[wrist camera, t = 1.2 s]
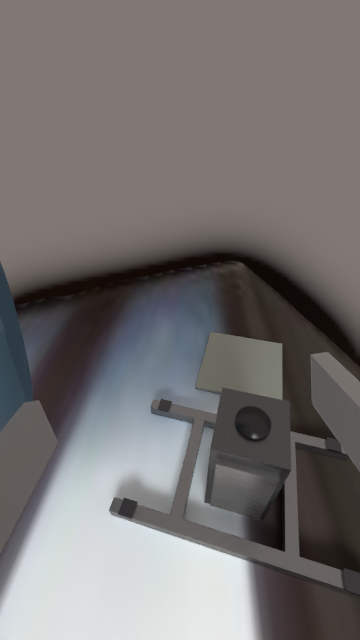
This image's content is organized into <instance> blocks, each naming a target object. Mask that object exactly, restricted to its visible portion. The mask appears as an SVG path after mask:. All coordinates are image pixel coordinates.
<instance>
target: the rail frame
mask: <svg viewBox="0 0 360 640" xmlns="http://www.w3.org/2000/svg"><path fill="white" fill-rule="evenodd" d="M150 408H151V413H152V414H156V415H160V416H164V417H168V418H173V419H177V420H181V421H185V422H189V423H193V428H192V432H191V436H190V440H189V444H188V448H187V451H186V455H185V459H184V463H183V467H182V471H181V475H180V479H179V483H178V487H177V491H176V494H175V498H174V502H173V506H172V510H171V514H170V515H168V514H165V513H162V512H159V511H156V510H153V509H150V508H146V507H143V506H140V505H137V502H136V501H133V500H129V499H126V498H124V499H123V500H122V499H118V498H115V497H114V499H113V502H112V504H111V507H110V509H109V511H110V513H111V515H113V516H116V517H119V518H122V519H125V520H128V521H131V522H134V523H137V524H140V525H143V526H146V527H149V528H152V529H155V530H158V531H161V532H164V533H167V534H170V535H173V536H176V537H179V538H182V539H185V540H188V541H190V542H193V543H196V544H199V545H202V546H205V547H208V548H211V549H214V550H217V551H220V552H223V553H226V554H229V555H232V556H235V557H238V558H241V559H244V560H247V561H250V562H253V563H256V564H259V565H262V566H265V567H268V568H271V569H274V570H276V571H279V572H282V573H285V574H288V575H291V576H294V577H297V578H300V579H303V580H306V581H309V582H312V583H315V584H318V585H321V586H324V587H327V588H330V589H333V590H336V591H339V592H342V593H345V594H348V595H351V596H354V597H357V598H360V573H358V572H355V571H352V570H349V569H346V568H342V570H339V569H336V568H333V567H330V566H327V565H324V564H321V563H318V562H314V561H311V560H308V559H305V558H302V557H299V531H298V506H297V481H296V455H295V448H296V449H300V450H304V451H308V452H313V453H317V454H321V455H325V456H329V457H333V458H337V459H341V460H345V461H347V459H348V458H349V456H348V454H347V453H346V451H345V450H344V449H343V447H342V446H341V444H340V443H339V441H338V440H337V439H333V438H329V437H326V439H321V438H317V437H313V436H308V435H304V434H300V433H295V432H291V431H290V436H291V472H290V474H289V475H288V477H287V479H286V481H285V482H284V484H283V486H282V551H280V550H277V549H274V548H271V547H268V546H265V545H262V544H258V543H255V542H252V541H249V540H246V539H243V538H240V537H237V536H234V535H230V534H227V533H224V532H221V531H218V530H215V529H212V528H209V527H206V526H202V525H199V524H196V523H193V522H190V521H187V520H184V519H183V518H184V513H185V509H186V504H187V500H188V495H189V491H190V486H191V482H192V477H193V473H194V469H195V464H196V460H197V455H198V451H199V446H200V442H201V437H202V433H203V428H204V426H205V427H210V428H215V423H216V418H217V414H213V413H209V412H205V411H200V410H196V409H192V408H187V407H183V406H179V405H174V404H172V401H167V400H163V399H161V401H157V400H153V402H152V405H151V407H150Z"/></svg>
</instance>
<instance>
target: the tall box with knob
mask: <svg viewBox="0 0 360 640" xmlns="http://www.w3.org/2000/svg"><path fill="white" fill-rule="evenodd" d="M290 472H291V436H290V401H285V400H280V399H275V398H271V397H266V396H261V395H256V394H252V393H247V392H242V391H237V390H232V389H228V388H223V387H222V392H221V397H220V402H219V407H218V413H217V418H216V423H215V428H214V433H213V439H212V444H211V449H210V458H209V467H208V476H207V485H206V494H205V503H208V504H210V506H214V507H217V508H220V509H224V510H227V511H230V512H233V513H237V514H240V515H243V516H247V517H250V518H253V519H257V520H259V519H261V520H263V519H264V518H265V516H266V514H267V512H268V511H269V509H270V507H271V505H272V504H273V502H274V500H275V498H276V497H277V495H278V493H279V491H280V489H281V488H282V486H283V484H284V482H285V481H286V479H287V477H288V475H289V474H290Z"/></svg>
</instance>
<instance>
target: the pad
mask: <svg viewBox="0 0 360 640" xmlns="http://www.w3.org/2000/svg"><path fill="white" fill-rule="evenodd" d="M222 387H223V388H228V389H232V390H237V391H242V392H247V393H252V394H256V395H261V396H266V397H271V398H275V399H280V400H282V344H280V343H274V342H268V341H262V340H256V339H250V338H244V337H239V336H233V335H227V334H221V333H215V332H211V333H210V336H209V340H208V343H207V347H206V350H205V354H204V358H203V361H202V365H201V368H200V372H199V375H198V379H197V382H196V386H195V389H200V390H204V391H209V392H214V393H218V394H221V392H222Z"/></svg>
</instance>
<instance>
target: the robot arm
mask: <svg viewBox="0 0 360 640" xmlns="http://www.w3.org/2000/svg"><path fill="white" fill-rule="evenodd" d="M311 384H312V404H313V406H314V407H315V409H316V410H317V411H318V413H319V414H320V416H321V417H322V419H323V420H324V421H325V423H326V424H327V426H328V427H329V429H330V430H331V431H332V433H333V434H334V436H335V437H336V439H337V440H338V441H339V443H340V444H341V446H342V447H343V449H344V450H345V451H346V453H347V454H348V456H349V457H350V459H351V460H352V461H353V463H354V464H355V466H356V467H357V469H358V470H359V472H360V382H359V381H358V380H357V379H356V378H355V377H354V376H353V375H352V374H351V373H350V372H349V371H348V370H347V369H345V368H344V367H343V366H342V365H341V364H340V363H339V362H338V361H337V360H336V359H335V358H334V357H333V356H332V355H330V354H329V353H328V352H324V353H318V354H312V355H311ZM57 444H58V441H57V439H56V437H55V435H54V433H53V430H52V428H51V426H50V424H49V421H48V419H47V417H46V415H45V413H44V410H43V408H42V406H41V404H40V401H39V400H37V401H33V394H32V384H31V377H30V371H29V365H28V360H27V355H26V350H25V346H24V341H23V337H22V333H21V329H20V325H19V321H18V317H17V313H16V309H15V306H14V302H13V299H12V295H11V292H10V288H9V285H8V282H7V279H6V276H5V273H4V270H3V268H2V265H1V263H0V553H1V551H2V549H3V547H4V545H5V544H6V542H7V540H8V538H9V536H10V534H11V532H12V530H13V528H14V526H15V524H16V523H17V521H18V519H19V517H20V515H21V513H22V511H23V509H24V507H25V505H26V504H27V502H28V500H29V498H30V496H31V494H32V492H33V490H34V488H35V486H36V484H37V483H38V481H39V479H40V477H41V475H42V473H43V471H44V469H45V467H46V465H47V463H48V462H49V460H50V458H51V456H52V454H53V452H54V450H55V448H56V446H57Z"/></svg>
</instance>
